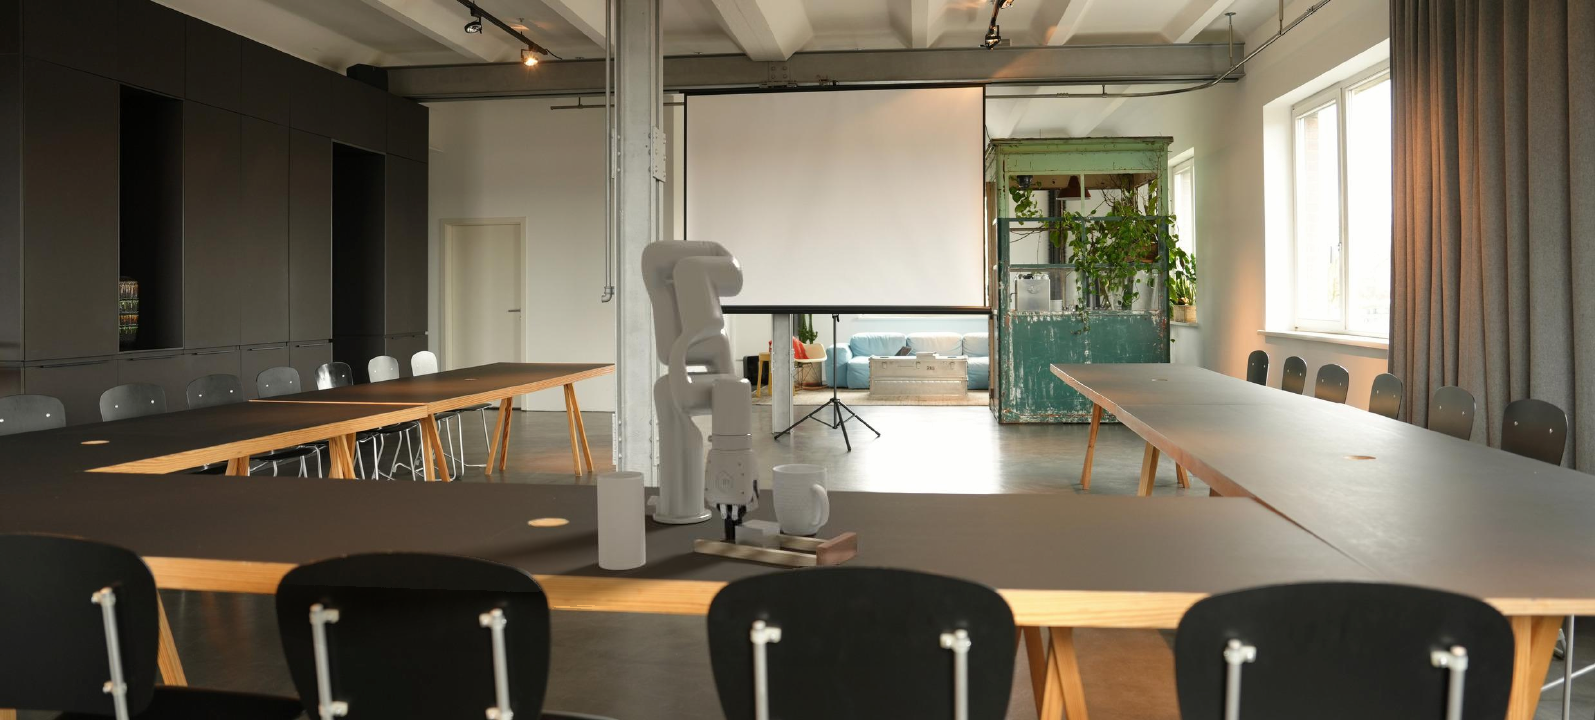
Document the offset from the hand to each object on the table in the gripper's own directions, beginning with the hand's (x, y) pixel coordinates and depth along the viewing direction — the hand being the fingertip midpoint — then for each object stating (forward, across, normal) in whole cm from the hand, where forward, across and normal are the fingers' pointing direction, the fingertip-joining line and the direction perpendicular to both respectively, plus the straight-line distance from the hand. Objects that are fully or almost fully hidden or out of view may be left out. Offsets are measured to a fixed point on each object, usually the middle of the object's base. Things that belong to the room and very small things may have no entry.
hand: (733, 538), depth 182 cm
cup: (+2, -11, -19) cm, 22 cm away
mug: (+2, +6, +16) cm, 17 cm away
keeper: (+2, +5, 0) cm, 6 cm away
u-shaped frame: (+2, +9, 0) cm, 9 cm away
